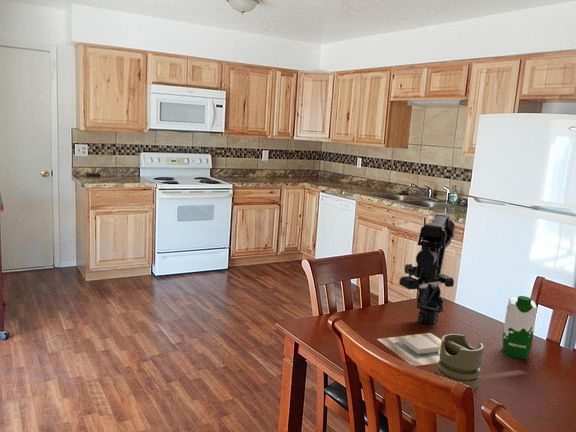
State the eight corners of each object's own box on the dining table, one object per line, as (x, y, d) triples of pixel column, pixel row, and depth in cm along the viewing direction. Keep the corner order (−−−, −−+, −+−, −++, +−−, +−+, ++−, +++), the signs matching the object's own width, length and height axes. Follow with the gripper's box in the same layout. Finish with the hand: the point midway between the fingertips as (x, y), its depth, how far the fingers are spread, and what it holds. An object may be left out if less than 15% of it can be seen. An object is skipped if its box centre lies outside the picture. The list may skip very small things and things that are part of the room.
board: (429, 336, 177) (430, 332, 177) (470, 361, 159) (470, 358, 159) (376, 342, 169) (376, 339, 168) (412, 370, 151) (413, 366, 150)
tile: (423, 336, 168) (403, 338, 165) (439, 346, 161) (419, 349, 158) (423, 342, 169) (403, 344, 166) (438, 352, 161) (418, 355, 158)
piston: (466, 353, 136) (433, 337, 145) (460, 394, 138) (428, 376, 147) (491, 346, 142) (458, 331, 152) (485, 385, 144) (453, 368, 154)
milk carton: (501, 356, 165) (510, 297, 161) (499, 345, 173) (508, 289, 170) (530, 361, 162) (540, 302, 159) (527, 350, 171) (536, 294, 167)
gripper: (436, 254, 180) (431, 296, 183) (392, 256, 173) (387, 299, 176) (457, 263, 170) (451, 306, 173) (412, 265, 163) (406, 311, 166)
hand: (423, 305), depth 172 cm, fingers closed
